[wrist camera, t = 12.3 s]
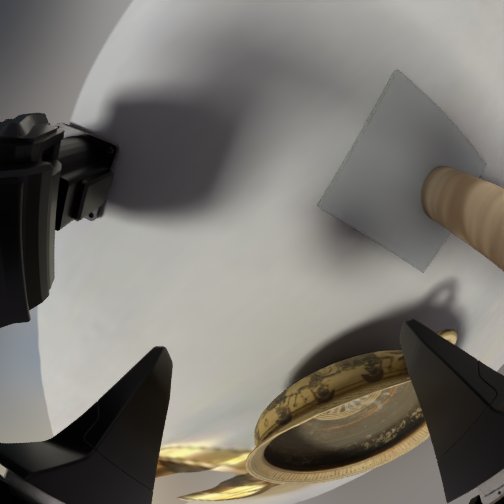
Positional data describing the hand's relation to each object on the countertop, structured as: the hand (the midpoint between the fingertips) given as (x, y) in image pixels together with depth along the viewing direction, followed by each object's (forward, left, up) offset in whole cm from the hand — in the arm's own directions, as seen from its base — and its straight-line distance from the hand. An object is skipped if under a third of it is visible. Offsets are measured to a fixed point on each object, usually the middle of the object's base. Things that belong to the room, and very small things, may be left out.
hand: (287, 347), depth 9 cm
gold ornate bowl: (+19, -13, -13) cm, 26 cm away
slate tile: (+10, +10, -13) cm, 19 cm away
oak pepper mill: (+12, +10, -12) cm, 20 cm away
